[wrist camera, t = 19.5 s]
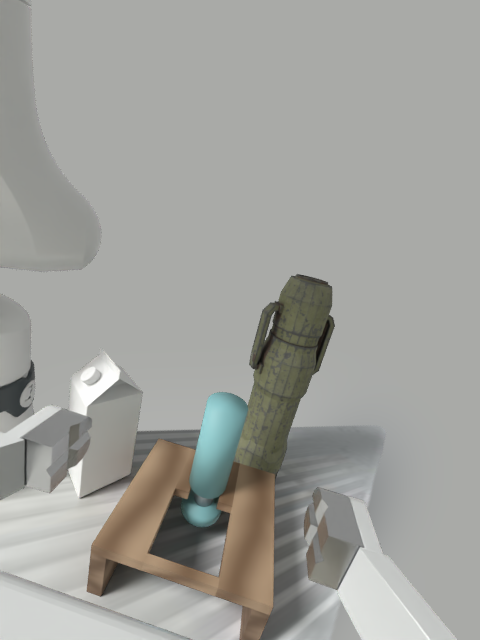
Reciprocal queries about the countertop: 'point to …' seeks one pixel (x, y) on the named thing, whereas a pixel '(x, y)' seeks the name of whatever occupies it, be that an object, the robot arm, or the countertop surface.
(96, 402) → the milk carton
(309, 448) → the countertop surface
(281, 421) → the thermos
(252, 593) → the keyhole bridge
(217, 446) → the teal necked cylinder
